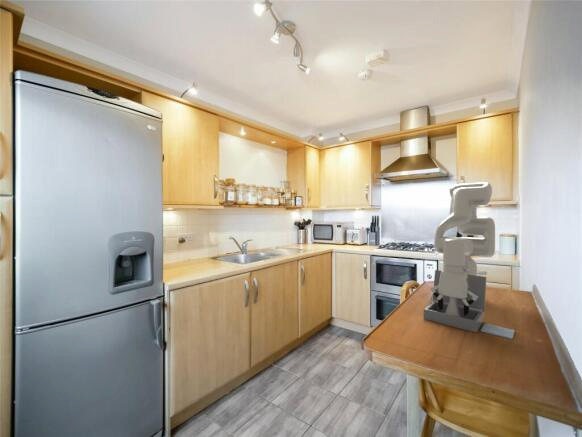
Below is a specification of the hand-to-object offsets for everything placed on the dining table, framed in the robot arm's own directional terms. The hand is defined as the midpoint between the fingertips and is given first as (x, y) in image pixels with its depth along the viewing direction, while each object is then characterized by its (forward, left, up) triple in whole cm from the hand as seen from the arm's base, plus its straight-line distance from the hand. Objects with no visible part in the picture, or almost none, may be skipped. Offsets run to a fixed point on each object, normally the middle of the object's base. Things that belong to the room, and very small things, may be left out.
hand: (452, 311), depth 107 cm
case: (0, 0, -3) cm, 3 cm away
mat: (0, +14, -3) cm, 15 cm away
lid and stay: (-6, 0, 0) cm, 6 cm away
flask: (0, 0, -4) cm, 4 cm away
